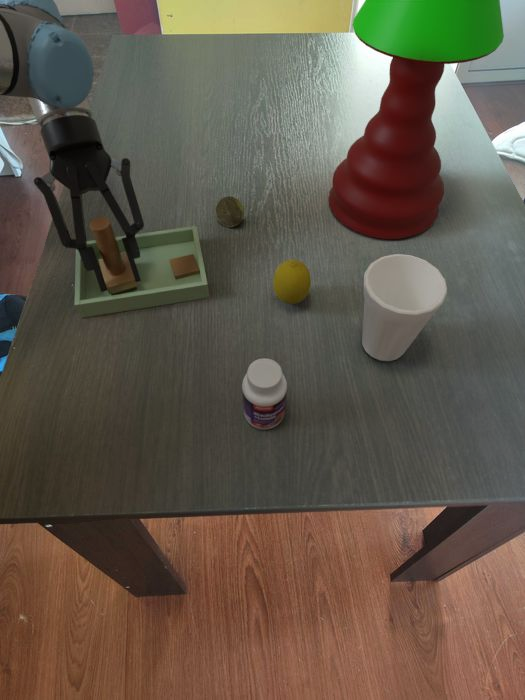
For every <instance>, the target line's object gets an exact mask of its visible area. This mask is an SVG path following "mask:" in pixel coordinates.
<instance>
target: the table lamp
mask: <svg viewBox="0 0 525 700" xmlns="http://www.w3.org/2000/svg"><path fill="white" fill-rule="evenodd" d="M352 27H353V32H354V34H355V36H356V38H357V39H358V40H359V41H360V42H361V43H362V44H364V45H365V46H366V47H368V48H370V49H372V50H373V51H375V52H377V53H380V54H382V55H385V56H388V57H390V58H391V61H390V64H389V82H388V85H387V87H386V88H385V90H384V92H383V94H382V96H381V98H380V103H379V104H380V105H379V109H378V111H377V113H376V114H374V116H373V117H372V118H370V120H369V121H368V122H367V123H366V126H365V128H364V133H363V135H361V136H360V137H359V138H357V139H356V140H355V141H354V142H353V143H352V144H351V145H350V147H349V149H348V150H347V154H346V158H345V159H343V160H342V161H341V162H340V163H339V164H338V166H337V167H336V168H335V170H334V172H333V175H332V181H331V184H332V187H331V189H330V190H329V194H328V205H329V207H330V210H331V212H332V213H333V214H334V216H335V217H336V219H337V220H338V221H339V222H340V223H342V224H343V225H344V226H345V227H347V228H348V229H350V230H352V231H354V232H356V233H359V234H362V235H365V236H368V237H371V238H376V239H381V240H382V239H383V240H399V239H403V238H409V237H412V236H416V235H419V234H422V233H423V232H425V231H427V230H428V229H429V228H430V227H431V226H433V224H434V223H435V221H436V220H437V218H438V217H439V212H440V205H441V203H442V202H443V199H444V196H445V184H444V181H443V178H442V176H441V174H440V173H441V170H442V159H441V157H440V154H439V152H438V150H437V149H436V147H435V144H436V141H437V131H436V128H435V125H434V123H433V120H432V118H433V114H434V111H435V109H436V89H437V86H438V84H439V82H440V81H441V79H442V78H443V74H444V71H445V65H453V64H461V63H468V62H472V61H476V60H480V59H482V58H485V57H488V56H489V55H491V54H493V53H494V52H496V50H497V49H498V48H499V47H500V46H501V44H502V43H503V41H504V37H505V35H504V25H503V18H502V9H501V1H500V0H364V2H363V3H362V5H361V7H360V8H359V10H358V12H357V13H356V15H355V16H354V17H353V21H352Z"/></svg>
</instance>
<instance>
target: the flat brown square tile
mask: <svg viewBox="0 0 525 700" xmlns="http://www.w3.org/2000/svg"><path fill="white" fill-rule="evenodd" d="M170 264H171V267H172V270H173V273H174V276H175V279H180V278H184V277H188V276H192V275H196V274H200V270H199V268H198V265H197V262H196V260H195V257H194V254H191V255H187V256H182V257H178V258H174V259H170Z"/></svg>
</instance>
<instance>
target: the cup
mask: <svg viewBox="0 0 525 700" xmlns="http://www.w3.org/2000/svg"><path fill="white" fill-rule="evenodd" d="M362 292H363V297H364V300H363V317H362V336H361V345H362V348H363V349H364V351H365V352H366V354H368V355H369V356H370V357H371V358H373V359H376V360H378V361H380V362H381V361H382V362H391V361H395V360H398V359H399V358H401V357H402V356H403V355H404V354H405V353H406V352H407V350H408V349H409V348H410V346H411V345H412V344H413V342H414V341H415V339H416V338H417V337H418V335H419V334H420V333H421V332H422V331H423V328H425V326H426V325H427V323H428V322H429V321H430V320H431V318H432V317H433V315H435V314H436V313H437V312H438V311H439V309H440V308H441V306H442V305H443V303H444V301H445V299H446V296H447V294H448V289H447V280H446V279H445V277H444V276H443V275H442V272H441V271H440V270H439V269H438V267H435V266H434V265H433V264H432V263H431V262H429V261H427V260H426V259H423V258H420V257H418V256H414V255H411V254H401V253H395V254H389V255H384V256H381V257H379V258H377V259H376V260H374V261H373V262H371V263H370V264H369V265H368V267H367V268H366V270H365V272H364V274H363V291H362Z"/></svg>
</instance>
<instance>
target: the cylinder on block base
mask: <svg viewBox="0 0 525 700" xmlns="http://www.w3.org/2000/svg"><path fill="white" fill-rule="evenodd" d="M89 228H90V231H91V233H92V237H93V238H94V240H95V241H96V244H97V246H98V249H99V251H100V254H101V256H102V259H99V263H100V267H101V270H102V274H103V277H104V281H105V284H106V287H107V290H108V293H109V294H111V296H112V295H118V294H123V293H126V292H130V291H133V290H137V283H136V281H135V278H134V275H133V272H132V269H131V266H130V263H129V259H128V256H127V253H126V252H125V253H121V252H120V249H119V246H118V243H117V240H116V238H115V237H116V235H115V231H114V229H113V225H112V223H111V220H110V219H109V218H108V217H107V216H98V217H95V218H93V219H92V220H91V221H90V223H89Z"/></svg>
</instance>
